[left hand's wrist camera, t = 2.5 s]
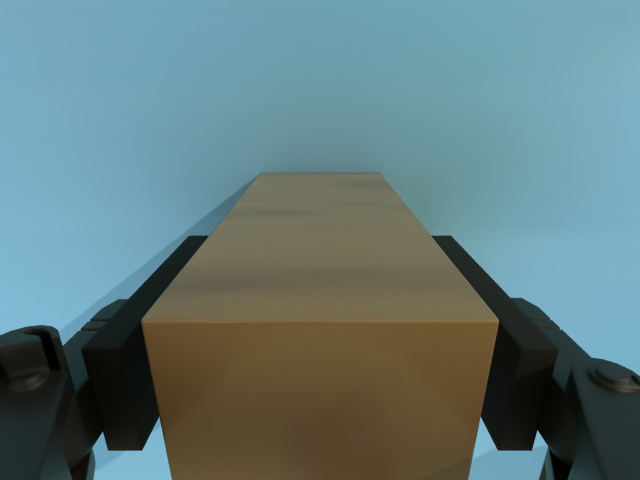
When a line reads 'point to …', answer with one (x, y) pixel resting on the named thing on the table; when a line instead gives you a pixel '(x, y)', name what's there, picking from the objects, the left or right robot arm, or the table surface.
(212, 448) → the block
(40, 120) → the table surface
